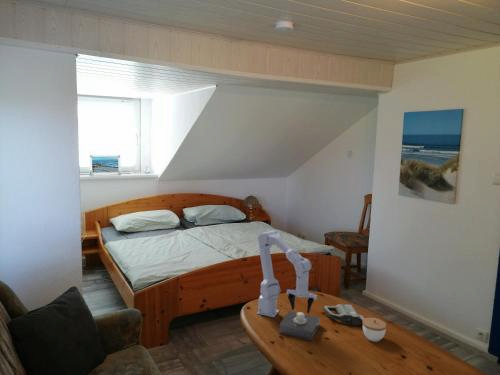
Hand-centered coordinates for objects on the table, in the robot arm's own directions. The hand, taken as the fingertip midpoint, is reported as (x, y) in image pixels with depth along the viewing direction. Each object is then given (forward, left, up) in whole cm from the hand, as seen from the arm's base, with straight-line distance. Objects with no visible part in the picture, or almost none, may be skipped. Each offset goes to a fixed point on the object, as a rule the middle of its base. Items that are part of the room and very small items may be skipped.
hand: (300, 310), depth 184 cm
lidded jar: (+34, +7, -10) cm, 36 cm away
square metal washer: (0, 0, -9) cm, 9 cm away
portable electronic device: (+18, +21, -10) cm, 30 cm away
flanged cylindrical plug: (0, 0, -7) cm, 7 cm away
